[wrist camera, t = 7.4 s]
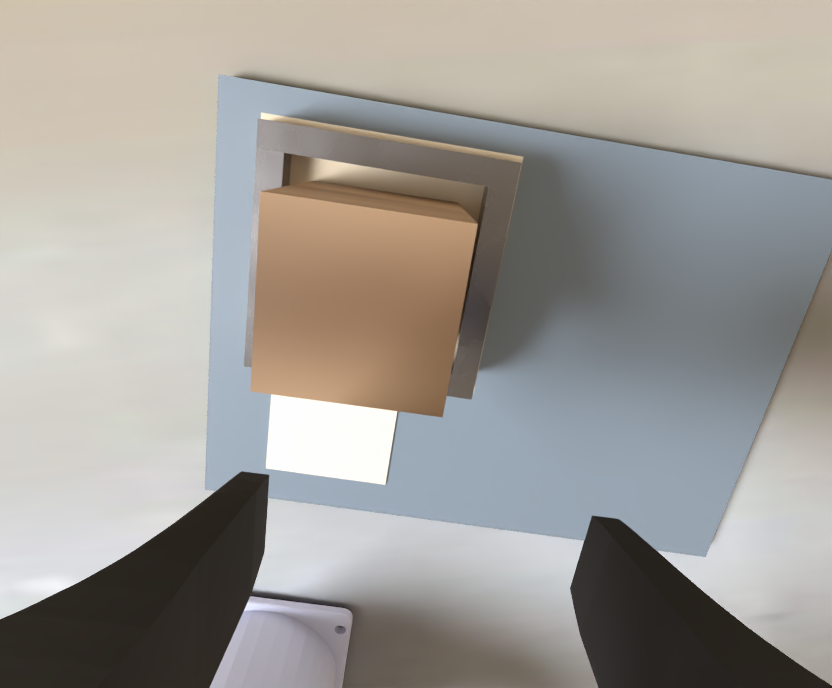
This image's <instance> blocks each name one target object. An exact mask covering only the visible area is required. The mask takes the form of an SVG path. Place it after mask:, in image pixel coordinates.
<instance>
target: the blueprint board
mask: <svg viewBox="0 0 832 688" xmlns="http://www.w3.org/2000/svg"><path fill="white" fill-rule="evenodd" d="M314 180H315V181H321V182H328V183H334V184H341V185H348V186H354V187H361V188H367V189H374V190H380V191H387V192H393V193H400V194H406V195H413V196H420V197H426V198H433V199H439V200H446V201H452V202H458V203H459V204H460V205H461V206H462V208H463V209H464V210H465V211H466V212H467V213H468V214H469V215H470V216H471V217H472V218H473V219H474V220H475V222H476V223H477V224H478V226H477V232H476V237H475V243H474V248H473V254H472V259H471V265H470V270H469V276H468V281H467V287H466V292H465V298H464V303H463V309H462V314H461V320H460V325H459V331H458V336H457V342H456V347H455V353H454V358H453V364H452V369H451V375H450V380H449V386H448V391H447V397H446V402H445V408H444V413H443V417H436V416H429V415H421V414H414V413H406V412H399V411H391V410H384V409H377V408H369V407H362V406H354V405H347V404H339V403H332V402H325V401H317V400H310V399H302V398H295V397H287V396H280V395H273V394H265V393H258V392H250V388H251V368H252V348H253V328H254V308H255V288H256V268H257V247H258V227H259V207H260V191H264V190H269V189H274V188H279V187H284V186H289V185H294V184H299V183H304V182H309V181H314ZM831 251H832V179H826V178H820V177H814V176H808V175H803V174H797V173H791V172H785V171H779V170H773V169H768V168H762V167H756V166H750V165H744V164H738V163H733V162H727V161H721V160H715V159H709V158H703V157H698V156H692V155H686V154H680V153H674V152H669V151H663V150H657V149H651V148H645V147H639V146H634V145H628V144H622V143H616V142H610V141H604V140H599V139H593V138H587V137H581V136H575V135H569V134H564V133H558V132H552V131H546V130H540V129H534V128H529V127H523V126H517V125H511V124H505V123H499V122H494V121H488V120H482V119H476V118H470V117H464V116H459V115H453V114H447V113H441V112H435V111H429V110H424V109H418V108H412V107H406V106H400V105H395V104H389V103H383V102H377V101H371V100H365V99H360V98H354V97H348V96H342V95H336V94H330V93H325V92H319V91H313V90H307V89H301V88H295V87H290V86H284V85H278V84H272V83H266V82H260V81H255V80H249V79H243V78H237V77H231V76H225V75H220V74H219V77H218V107H217V137H216V168H215V198H214V228H213V259H212V289H211V320H210V350H209V380H208V411H207V441H206V471H205V489H206V490H213V491H217V490H218V489H219V488H220V487H222V486H223V485H224V484H225V483H227V482H228V481H229V480H230V479H232V478H233V477H234V476H236V475H237V474H238V473H240V472H241V471H244V472H252V473H259V474H267V475H269V489H268V498H273V499H280V500H287V501H295V502H302V503H310V504H317V505H325V506H332V507H339V508H347V509H354V510H362V511H369V512H376V513H384V514H391V515H399V516H406V517H413V518H421V519H428V520H436V521H443V522H450V523H458V524H465V525H473V526H480V527H487V528H495V529H502V530H510V531H517V532H525V533H532V534H539V535H547V536H554V537H562V538H569V539H576V540H584V541H585V537H586V534H587V531H588V527H589V524H590V521H591V517H592V515H593V516H601V517H608V518H616V519H620V520H621V521H622V522H624V523H625V524H626V525H627V526H629V527H630V528H631V529H632V530H633V531H635V532H636V533H637V534H638V535H639V536H640V537H641V538H643V539H644V540H645V541H646V542H647V543H648V544H649V545H651V546H652V547H653V548H654V549H655V550H658V551H665V552H673V553H680V554H687V555H695V556H702V557H706V555H707V552H708V550H709V547H710V545H711V542H712V540H713V538H714V535H715V533H716V530H717V528H718V525H719V523H720V521H721V518H722V516H723V513H724V511H725V508H726V506H727V504H728V501H729V499H730V496H731V494H732V491H733V489H734V487H735V484H736V482H737V479H738V477H739V474H740V472H741V470H742V467H743V465H744V462H745V460H746V457H747V455H748V453H749V450H750V448H751V445H752V443H753V440H754V438H755V436H756V433H757V431H758V428H759V426H760V423H761V421H762V419H763V416H764V414H765V411H766V409H767V406H768V404H769V402H770V399H771V397H772V394H773V392H774V389H775V387H776V385H777V382H778V380H779V377H780V375H781V372H782V370H783V368H784V365H785V363H786V360H787V358H788V355H789V353H790V351H791V348H792V346H793V343H794V341H795V339H796V336H797V334H798V331H799V329H800V326H801V324H802V322H803V319H804V317H805V314H806V312H807V309H808V307H809V305H810V302H811V300H812V297H813V295H814V292H815V290H816V288H817V285H818V283H819V280H820V278H821V275H822V273H823V271H824V268H825V266H826V263H827V261H828V258H829V256H830V254H831Z"/></svg>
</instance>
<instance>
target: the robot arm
mask: <svg viewBox="0 0 832 688" xmlns="http://www.w3.org/2000/svg"><path fill="white" fill-rule="evenodd" d="M268 489H269V475H267V474H259V473H252V472H244V471H241V472H240V473H238V474H237V475H236V476H234V477H233V478H232V479H230V480H229V481H228V482H227V483H225V484H224V485H223V486H222V487H220V488H219V489H218V490H217V491H215V492H214V493H213V494H212V495H210V496H209V497H208V498H207V499H205V500H204V501H203V502H201V503H200V504H199V505H198V506H196V507H195V508H194V509H192V510H191V511H190V512H188V513H187V514H186V515H184V516H183V517H182V518H180V519H179V520H178V521H176V522H175V523H174V524H172V525H171V526H170V527H168V528H167V529H165V530H164V531H162V532H161V533H159V534H158V535H157V536H155V537H154V538H152V539H151V540H149V541H148V542H146V543H145V544H143V545H142V546H140V547H139V548H137V549H136V550H134V551H133V552H131V553H130V554H128V555H126V556H125V557H123V558H121V559H120V560H118V561H116V562H115V563H113V564H111V565H109V566H108V567H106V568H104V569H102V570H101V571H99V572H97V573H95V574H93V575H92V576H90V577H88V578H86V579H84V580H82V581H81V582H79V583H77V584H75V585H73V586H71V587H69V588H67V589H64V590H62V591H60V592H58V593H56V594H54V595H52V596H50V597H48V598H46V599H44V600H42V601H40V602H38V603H36V604H34V605H32V606H29V607H27V608H25V609H23V610H21V611H19V612H16V613H14V614H12V615H10V616H7V617H5V618H2V619H0V688H342V685H343V678H344V672H345V665H346V659H347V652H348V646H349V639H350V633H351V626H352V619H353V615H352V613H351V611H349V610H348V609H345V608H340V607H332V606H324V605H316V604H308V603H300V602H292V601H284V600H276V599H268V598H260V597H252V596H251V593H252V590H253V586H254V583H255V580H256V577H257V574H258V571H259V567H260V564H261V561H262V558H263V554H264V549H265V534H266V519H267V504H268ZM570 589H571V594H572V599H573V604H574V609H575V614H576V618H577V623H578V627H579V631H580V635H581V638H582V641H583V644H584V647H585V650H586V653H587V656H588V659H589V661H590V664H591V667H592V670H593V673H594V676H595V678H596V681H597V684H598V687H599V688H832V686H831V685H830V684H828V683H827V682H825V681H823V680H822V679H820V678H819V677H817V676H816V675H814V674H813V673H811V672H810V671H808V670H807V669H805V668H804V667H802V666H801V665H799V664H798V663H796V662H795V661H793V660H792V659H791V658H789V657H788V656H786V655H785V654H784V653H782V652H781V651H779V650H778V649H777V648H775V647H774V646H772V645H771V644H769V643H768V642H767V641H765V640H764V639H762V638H761V637H760V636H758V635H757V634H756V633H754V632H753V631H752V630H750V629H749V628H748V627H746V626H745V625H744V624H743V623H741V622H740V621H739V620H738V619H736V618H735V617H734V616H733V615H731V614H730V613H729V612H728V611H726V610H725V609H724V608H723V607H721V606H720V605H719V604H718V603H716V602H715V601H714V600H713V599H711V598H710V597H709V596H708V595H707V594H705V593H704V592H703V591H702V590H701V589H700V588H698V587H697V586H696V585H695V584H694V583H693V582H691V581H690V580H689V579H688V578H687V577H686V576H684V575H683V574H682V573H681V572H680V571H679V570H678V569H676V568H675V567H674V566H673V565H672V564H671V563H670V562H669V561H667V560H666V559H665V558H664V557H663V556H662V555H661V554H660V553H658V552H657V551H656V550H655V549H654V548H653V547H652V546H651V545H649V544H648V543H647V542H646V541H645V540H644V539H643V538H641V537H640V536H639V535H638V534H637V533H636V532H635V531H633V530H632V529H631V528H630V527H629V526H627V525H626V524H625V523H624V522H622V521H621V520H620V519H616V518H608V517H601V516H593V515H592V517H591V521H590V524H589V527H588V531H587V534H586V537H585V541H584V544H583V547H582V551H581V554H580V557H579V561H578V564H577V567H576V571H575V574H574V577H573V581H572V584H571V587H570ZM338 626H343V627H338Z"/></svg>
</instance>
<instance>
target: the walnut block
mask: <svg viewBox="0 0 832 688" xmlns="http://www.w3.org/2000/svg"><path fill="white" fill-rule="evenodd" d="M477 226H478V224H477V223H476V222H475V220H474V219H473V218H472V217H471V216H470V215H469V214H468V213H467V212H466V211H465V210H464V209H463V208H462V206H461V205H460V204H459V203H458V202H452V201H446V200H439V199H433V198H426V197H420V196H413V195H406V194H400V193H393V192H387V191H380V190H374V189H367V188H361V187H354V186H348V185H341V184H334V183H328V182H321V181H315V180H314V181H309V182H304V183H299V184H294V185H289V186H284V187H279V188H274V189H269V190H264V191H260V207H259V227H258V247H257V268H256V288H255V308H254V328H253V348H252V368H251V388H250V392H258V393H265V394H273V395H280V396H287V397H295V398H302V399H310V400H317V401H325V402H332V403H339V404H347V405H354V406H362V407H369V408H377V409H384V410H391V411H399V412H406V413H414V414H421V415H429V416H436V417H443V413H444V408H445V402H446V397H447V391H448V386H449V380H450V375H451V369H452V364H453V358H454V353H455V347H456V342H457V336H458V331H459V325H460V320H461V314H462V309H463V303H464V298H465V292H466V287H467V281H468V276H469V270H470V265H471V259H472V254H473V248H474V243H475V237H476V232H477Z"/></svg>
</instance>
